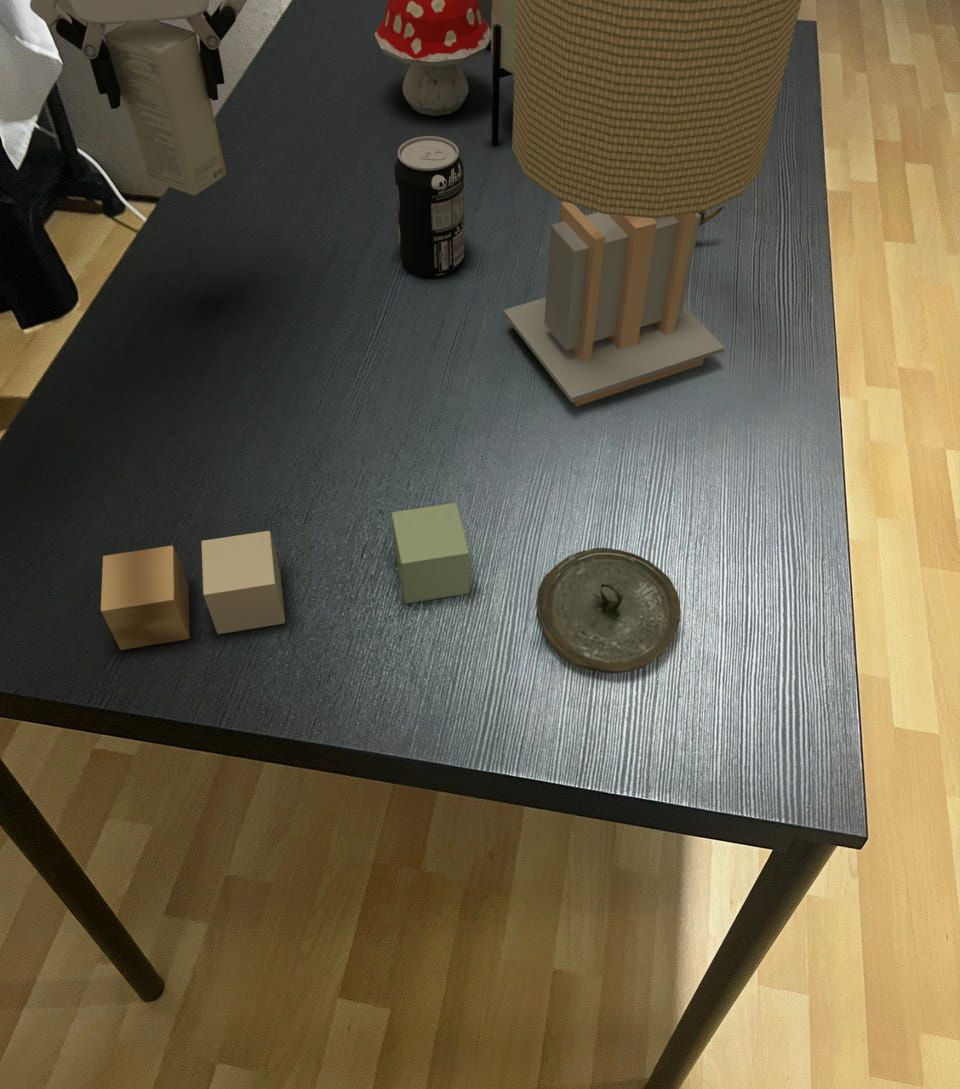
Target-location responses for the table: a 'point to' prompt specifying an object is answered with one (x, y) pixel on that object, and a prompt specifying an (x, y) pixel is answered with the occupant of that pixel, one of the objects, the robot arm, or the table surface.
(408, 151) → the beverage can
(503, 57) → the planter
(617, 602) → the lid
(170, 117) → the cosmetic box
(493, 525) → the table surface
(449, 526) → the block
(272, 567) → the block
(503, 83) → the table surface
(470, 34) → the decorative mushroom
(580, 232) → the desk lamp
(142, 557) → the block
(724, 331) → the table surface
